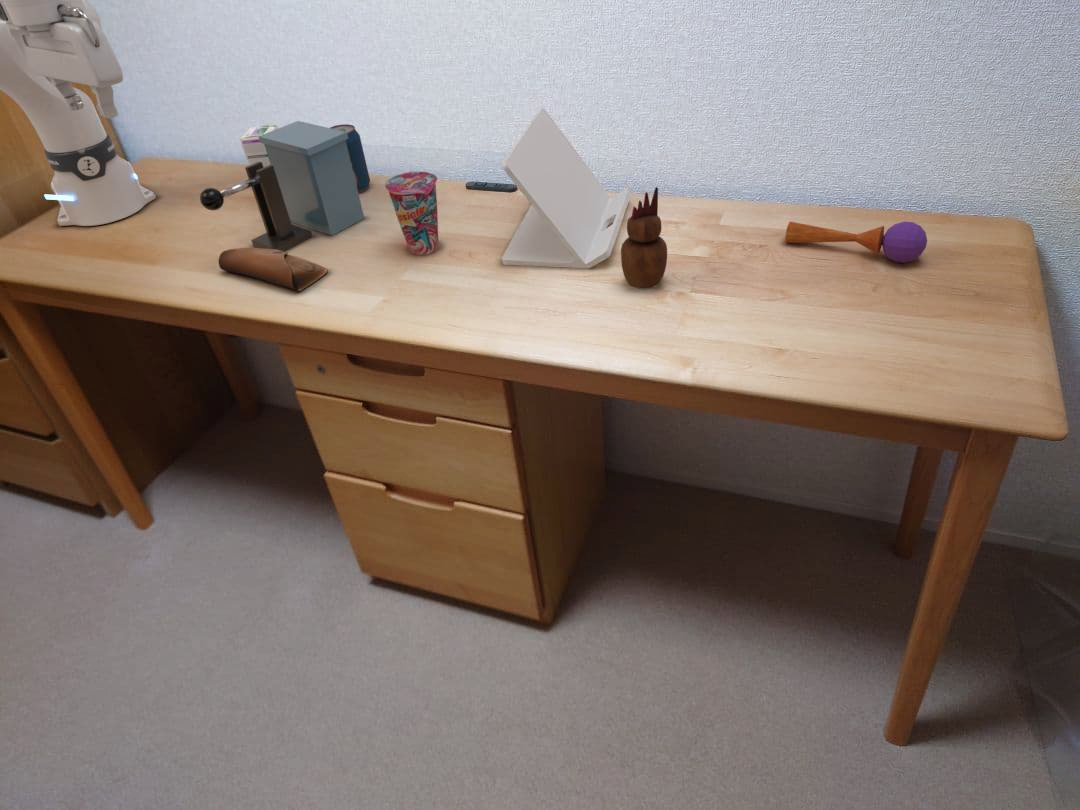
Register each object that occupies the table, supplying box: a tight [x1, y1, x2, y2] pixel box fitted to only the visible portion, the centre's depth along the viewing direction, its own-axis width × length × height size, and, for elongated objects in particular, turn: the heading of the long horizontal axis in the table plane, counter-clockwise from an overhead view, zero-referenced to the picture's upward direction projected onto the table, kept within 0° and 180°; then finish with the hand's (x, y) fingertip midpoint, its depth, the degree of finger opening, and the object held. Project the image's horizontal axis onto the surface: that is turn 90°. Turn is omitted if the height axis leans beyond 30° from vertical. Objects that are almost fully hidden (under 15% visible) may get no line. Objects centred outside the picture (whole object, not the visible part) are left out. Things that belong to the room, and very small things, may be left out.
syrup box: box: [239, 124, 279, 167], centre depth 147 cm, size 6×6×14 cm
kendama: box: [785, 221, 928, 263], centre depth 117 cm, size 6×6×20 cm
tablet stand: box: [501, 108, 633, 269], centre depth 126 cm, size 18×25×17 cm
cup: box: [385, 171, 440, 256], centre depth 127 cm, size 9×8×12 cm
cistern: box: [259, 120, 366, 237], centre depth 139 cm, size 9×14×16 cm, turn 52°
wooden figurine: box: [620, 186, 668, 290], centre depth 111 cm, size 7×6×15 cm
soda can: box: [329, 123, 371, 194], centre depth 151 cm, size 7×7×12 cm
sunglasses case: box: [218, 247, 329, 292], centre depth 128 cm, size 18×7×7 cm
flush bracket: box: [244, 162, 313, 252], centre depth 134 cm, size 8×7×14 cm
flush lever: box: [199, 172, 260, 211], centre depth 127 cm, size 13×4×4 cm, turn 142°
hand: (93, 113), depth 107 cm, fingers open, 8 cm apart
